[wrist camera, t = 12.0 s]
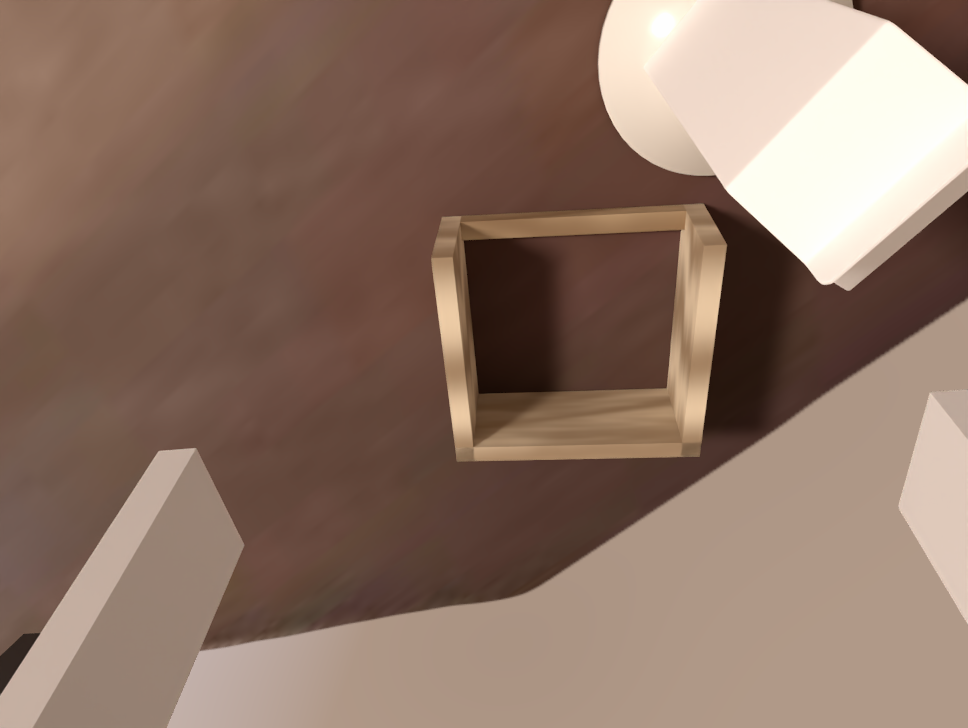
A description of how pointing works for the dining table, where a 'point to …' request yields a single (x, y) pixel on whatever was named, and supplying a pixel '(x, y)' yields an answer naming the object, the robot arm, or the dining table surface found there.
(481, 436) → the shelf bay
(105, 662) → the robot arm
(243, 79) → the dining table surface
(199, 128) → the dining table surface
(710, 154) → the milk
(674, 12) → the cream flat disc
